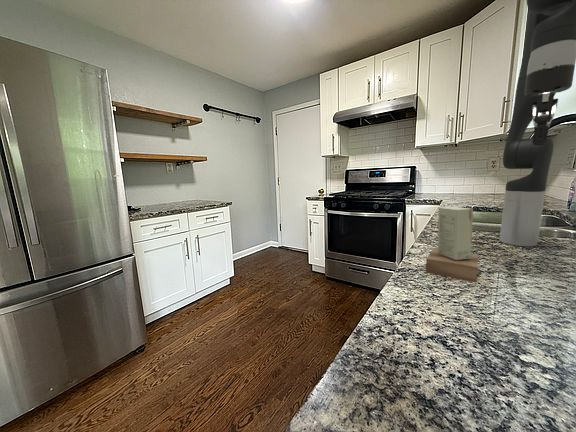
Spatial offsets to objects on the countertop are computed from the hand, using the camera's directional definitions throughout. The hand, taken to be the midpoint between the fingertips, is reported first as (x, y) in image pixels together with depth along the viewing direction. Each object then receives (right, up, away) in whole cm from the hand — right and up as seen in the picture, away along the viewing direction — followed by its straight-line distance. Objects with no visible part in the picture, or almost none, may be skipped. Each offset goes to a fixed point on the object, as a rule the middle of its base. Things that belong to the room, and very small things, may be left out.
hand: (539, 144), depth 58 cm
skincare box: (-18, -27, +4) cm, 33 cm away
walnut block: (-18, -31, +4) cm, 36 cm away
